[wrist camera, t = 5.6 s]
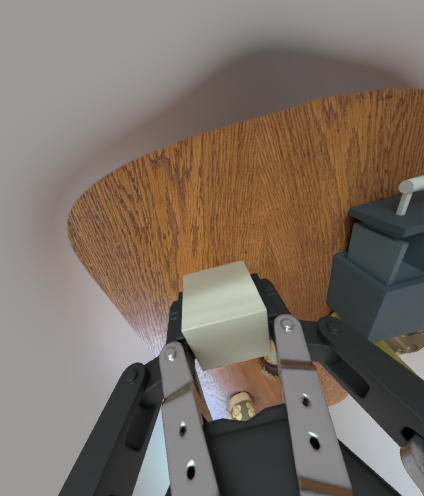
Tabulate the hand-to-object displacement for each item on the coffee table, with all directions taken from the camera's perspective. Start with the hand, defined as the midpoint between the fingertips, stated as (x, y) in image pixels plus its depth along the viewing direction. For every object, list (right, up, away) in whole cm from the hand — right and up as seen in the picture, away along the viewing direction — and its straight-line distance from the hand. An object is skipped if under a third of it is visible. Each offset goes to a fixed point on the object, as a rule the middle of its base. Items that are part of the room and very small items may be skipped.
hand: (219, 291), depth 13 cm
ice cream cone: (+15, -15, +28) cm, 35 cm away
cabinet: (+29, -2, +23) cm, 37 cm away
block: (0, 0, 0) cm, 0 cm away
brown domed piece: (+10, -57, +50) cm, 77 cm away
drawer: (+26, +7, +16) cm, 32 cm away
